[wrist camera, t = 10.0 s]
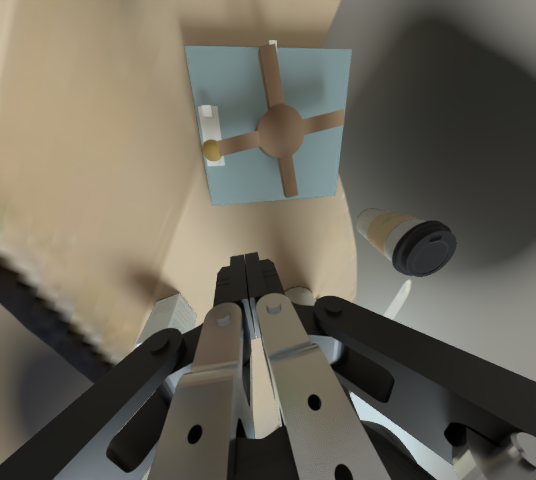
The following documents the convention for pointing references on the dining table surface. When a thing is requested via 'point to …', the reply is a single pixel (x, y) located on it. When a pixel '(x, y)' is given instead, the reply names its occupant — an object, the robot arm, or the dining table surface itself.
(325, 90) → the stand
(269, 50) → the capstan
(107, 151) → the dining table surface
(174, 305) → the small box
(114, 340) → the dining table surface
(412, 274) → the coffee cup
